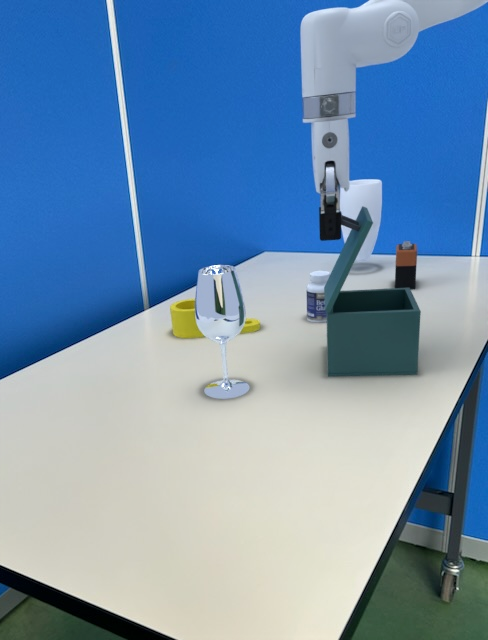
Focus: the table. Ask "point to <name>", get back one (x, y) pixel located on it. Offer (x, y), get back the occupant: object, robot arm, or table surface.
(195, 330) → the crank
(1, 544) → the table surface
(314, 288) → the pill bottle
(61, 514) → the table surface
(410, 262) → the battery
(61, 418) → the table surface
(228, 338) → the wineglass
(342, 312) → the cool chest
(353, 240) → the chest lid
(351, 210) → the cup
